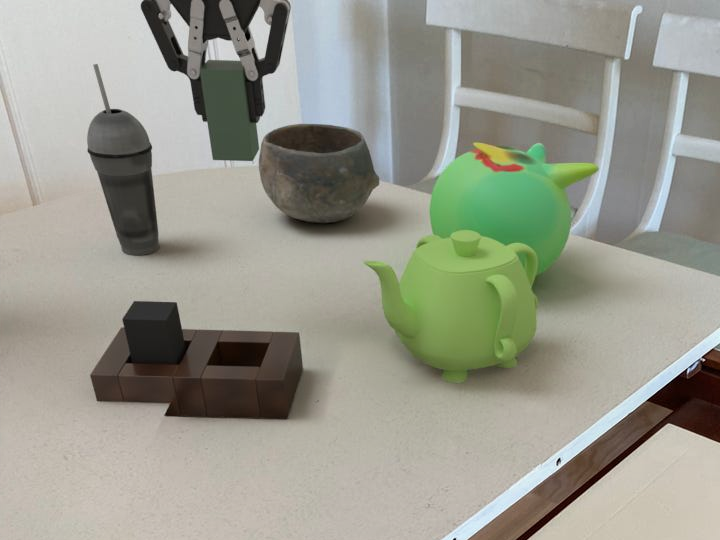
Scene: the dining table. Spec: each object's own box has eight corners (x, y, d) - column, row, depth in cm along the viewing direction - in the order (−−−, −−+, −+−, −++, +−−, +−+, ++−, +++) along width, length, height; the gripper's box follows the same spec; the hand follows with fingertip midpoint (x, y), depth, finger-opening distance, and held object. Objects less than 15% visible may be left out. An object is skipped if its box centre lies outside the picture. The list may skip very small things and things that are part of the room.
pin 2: (212, 160, 97) (199, 69, 91) (220, 148, 100) (207, 59, 94) (253, 161, 97) (242, 70, 92) (259, 149, 100) (249, 60, 94)
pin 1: (140, 399, 93) (121, 319, 88) (151, 379, 96) (134, 300, 90) (182, 400, 93) (166, 320, 88) (192, 380, 96) (177, 301, 91)
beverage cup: (139, 264, 117) (100, 76, 104) (97, 251, 120) (53, 66, 107) (183, 245, 122) (151, 64, 108) (141, 233, 125) (104, 55, 111)
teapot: (505, 409, 93) (512, 279, 85) (368, 384, 96) (361, 256, 88) (547, 339, 105) (557, 218, 96) (424, 318, 108) (422, 199, 99)
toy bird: (410, 256, 121) (407, 127, 111) (532, 240, 126) (540, 115, 116) (466, 313, 109) (468, 174, 99) (598, 293, 114) (613, 159, 104)
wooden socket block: (100, 414, 91) (89, 374, 88) (130, 364, 98) (121, 327, 95) (287, 419, 91) (283, 380, 88) (303, 369, 98) (299, 332, 96)
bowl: (263, 201, 135) (254, 122, 128) (374, 197, 137) (371, 119, 130) (265, 238, 125) (255, 154, 118) (385, 233, 127) (382, 150, 120)
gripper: (290, -98, 88) (308, 112, 99) (131, -103, 87) (168, 108, 99) (278, -89, 82) (298, 133, 94) (108, -94, 82) (150, 129, 93)
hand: (231, 119), depth 96 cm, fingers closed on pin 2, 4 cm apart
